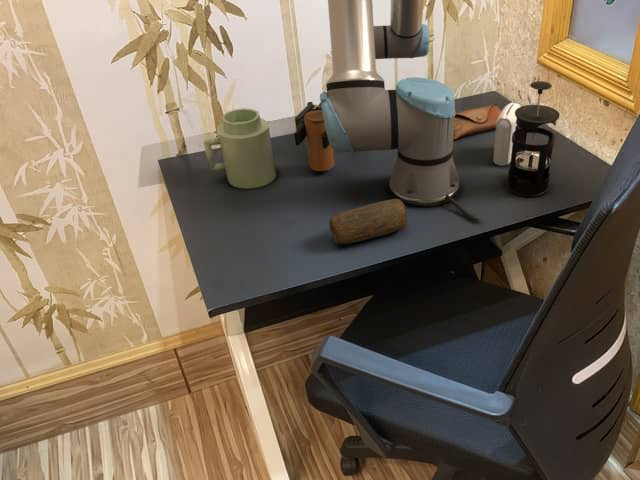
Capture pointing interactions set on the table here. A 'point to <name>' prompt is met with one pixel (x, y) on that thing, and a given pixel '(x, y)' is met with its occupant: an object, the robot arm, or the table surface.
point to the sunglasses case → (475, 121)
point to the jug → (243, 149)
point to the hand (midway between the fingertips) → (310, 141)
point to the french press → (532, 148)
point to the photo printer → (505, 134)
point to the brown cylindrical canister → (317, 142)
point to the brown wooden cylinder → (368, 221)
